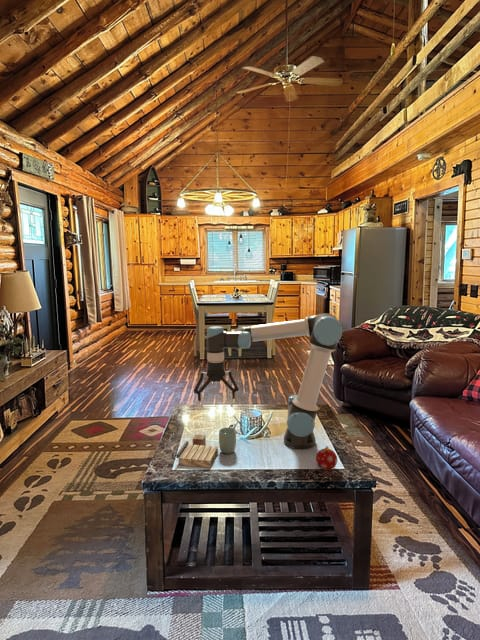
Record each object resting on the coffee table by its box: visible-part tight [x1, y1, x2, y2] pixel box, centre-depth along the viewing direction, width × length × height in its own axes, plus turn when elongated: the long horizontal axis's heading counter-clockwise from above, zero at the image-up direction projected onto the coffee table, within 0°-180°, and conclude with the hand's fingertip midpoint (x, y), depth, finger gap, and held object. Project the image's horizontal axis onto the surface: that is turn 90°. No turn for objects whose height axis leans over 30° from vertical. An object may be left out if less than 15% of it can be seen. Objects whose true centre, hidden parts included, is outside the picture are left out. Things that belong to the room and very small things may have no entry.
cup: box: [218, 427, 237, 454], centre depth 187 cm, size 8×8×10 cm
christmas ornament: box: [315, 445, 338, 471], centre depth 171 cm, size 9×9×10 cm
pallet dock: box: [175, 440, 219, 468], centre depth 180 cm, size 15×14×4 cm
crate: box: [192, 433, 207, 446], centre depth 192 cm, size 5×5×5 cm
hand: (216, 406), depth 187 cm, fingers open, 13 cm apart
